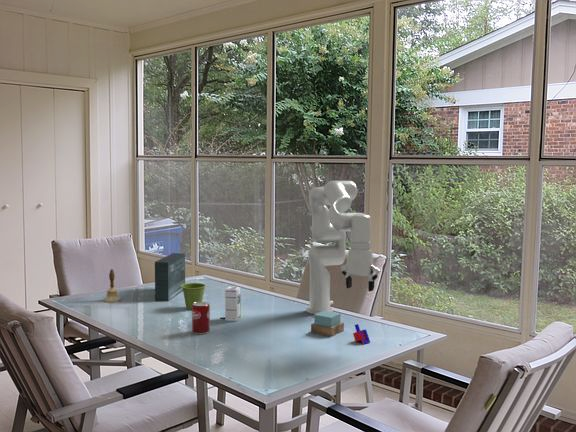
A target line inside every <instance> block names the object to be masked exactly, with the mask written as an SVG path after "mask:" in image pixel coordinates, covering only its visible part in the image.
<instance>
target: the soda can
mask: <svg viewBox="0 0 576 432" xmlns="http://www.w3.org/2000/svg"><path fill="white" fill-rule="evenodd" d="M210 306H211V305H210V303H209V302H207V301H202V302H196V303H193V304H192V309H191V331H192V333H193V334H195V335H205V334H208V333H209V332H210V329H211V328H210V326H211V325H210V321H211V320H210V317H211V315H210V314H211V313H210V312H211V311H210V310H211V307H210Z"/></svg>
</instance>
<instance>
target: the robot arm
mask: <svg viewBox="0 0 576 432" xmlns="http://www.w3.org/2000/svg"><path fill="white" fill-rule="evenodd" d="M357 195H358V186H357V185H356V183H355V182H354V181H352V180H330V181H328V182H327V183H325V185H324V186H318V187H313V188H311V189H310V191H309V194H308V203H309V206H310V207H309V208H310V210H311V211H310V212H311V238H312V241H313V242H315V243H321V244H325V243H326V244H327V245H326V244H325V245H314V246H312V247H310V248H309V250H308V253H307V257H308V263H309V265H308V266H309V307H307V308H306V310H305V311H306V313H308V314H310V315H315V314H317V313H320V312H322V311H328V312H334V309H333V308H332V307H331V305H333V304H334V301H333V300H331V295H330V294H331V293H330V292H331V274H330V272H329V270H328V269H327V268H326V267H327V266H328V267H329V266H340V265H341V266H340V267H339V268H340V270H341V273H342V275H343V276H344V278H345V286H346V289H350V288H352V287H353V285H352V284H353V278H352V276H359V277H367V279H368V280H369V281H368V284H367V287H368V292H372V291H374V289H375V281H376V280H377V279H378V278H379V276H380V274H381V272H382V270H381V269H380V268H378V267H377V266H375V265H374V255H373V250H372V249H371V235H372V234H371V230H372V229H371V227H372V226H371V225H372V224H371V223H372V222H371V221H372V220H371V219H372V217H371V216H370V215H369V214H365V213H363V212H347V211H349V210H350V209H351V207H352V204H353V202H352V201H354V200H355V199H356V197H357ZM328 206H329V208H328ZM346 232H350V241H349V242H348V246H349V247H350V248H349V249H348V251H347V252H348V253H347V257H346V244H347V243H346V240H347V239H346V237H347V235H346V234H347V233H346ZM329 243H333V244H329ZM328 244H329V245H328ZM345 259H346V263H345V264H344V262H345ZM374 272H375V274H374Z"/></svg>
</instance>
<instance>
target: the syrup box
mask: <svg viewBox="0 0 576 432" xmlns="http://www.w3.org/2000/svg"><path fill="white" fill-rule="evenodd" d="M241 296H242V295H241V286H228V287H226V288H225V289H224V310H225V312H224V313H225V314H224V316H225V321H229V322H238V321H239V320H241V318H242V303H241V302H242V298H241Z"/></svg>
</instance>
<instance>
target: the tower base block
mask: <svg viewBox="0 0 576 432" xmlns="http://www.w3.org/2000/svg"><path fill="white" fill-rule="evenodd" d="M344 331H345V322H341V321H340V323H339V324H337V325H335V326H333V327H327V326H321V325H316V324H314V322H312V323H311V325H310V333H311V334H317V335H322V336H327V337H330V336H331V337H334V336H336V334H337V335H338V333H339V334H341V333H343V332H344ZM340 332H341V333H340Z"/></svg>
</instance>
